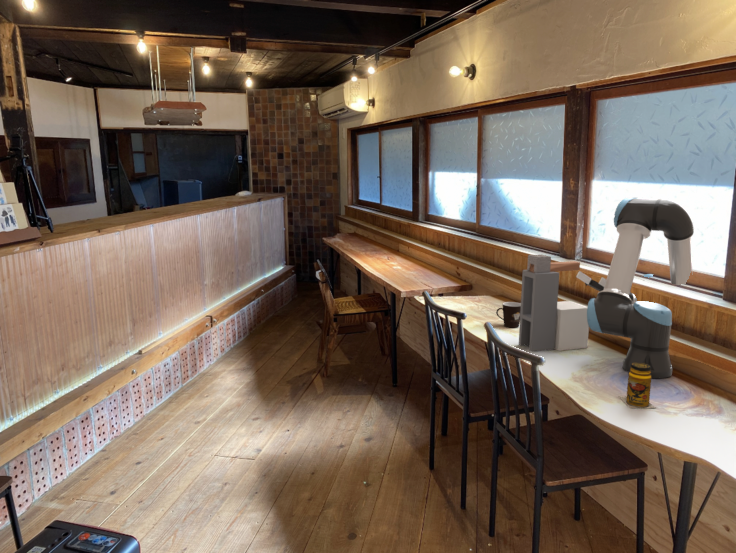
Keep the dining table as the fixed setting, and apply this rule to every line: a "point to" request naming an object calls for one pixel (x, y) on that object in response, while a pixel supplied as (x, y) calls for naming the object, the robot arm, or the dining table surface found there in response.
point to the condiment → (638, 386)
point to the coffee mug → (511, 314)
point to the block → (571, 326)
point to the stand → (538, 310)
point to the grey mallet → (549, 264)
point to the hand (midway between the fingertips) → (589, 277)
